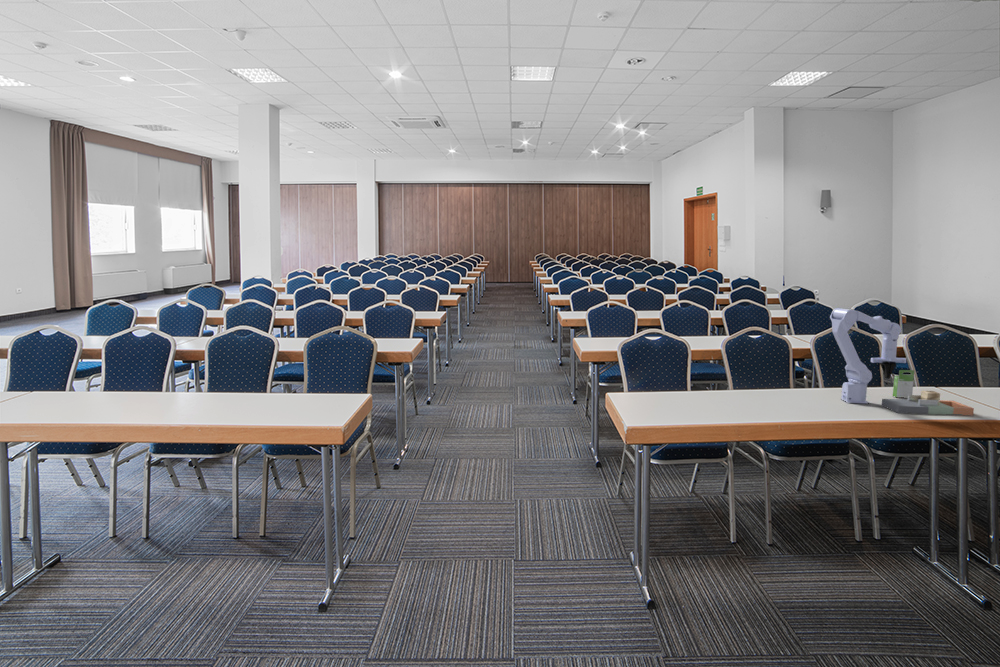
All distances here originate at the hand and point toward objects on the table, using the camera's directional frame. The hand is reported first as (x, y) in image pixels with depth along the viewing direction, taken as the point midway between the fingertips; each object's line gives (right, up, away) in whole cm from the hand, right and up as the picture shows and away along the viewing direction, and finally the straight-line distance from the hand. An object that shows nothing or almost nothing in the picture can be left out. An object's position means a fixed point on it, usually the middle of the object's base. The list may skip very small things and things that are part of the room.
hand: (887, 378), depth 296 cm
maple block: (+8, -10, -17) cm, 21 cm away
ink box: (+12, -10, +8) cm, 18 cm away
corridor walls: (+5, -10, -16) cm, 20 cm away
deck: (+7, -13, -16) cm, 22 cm away
